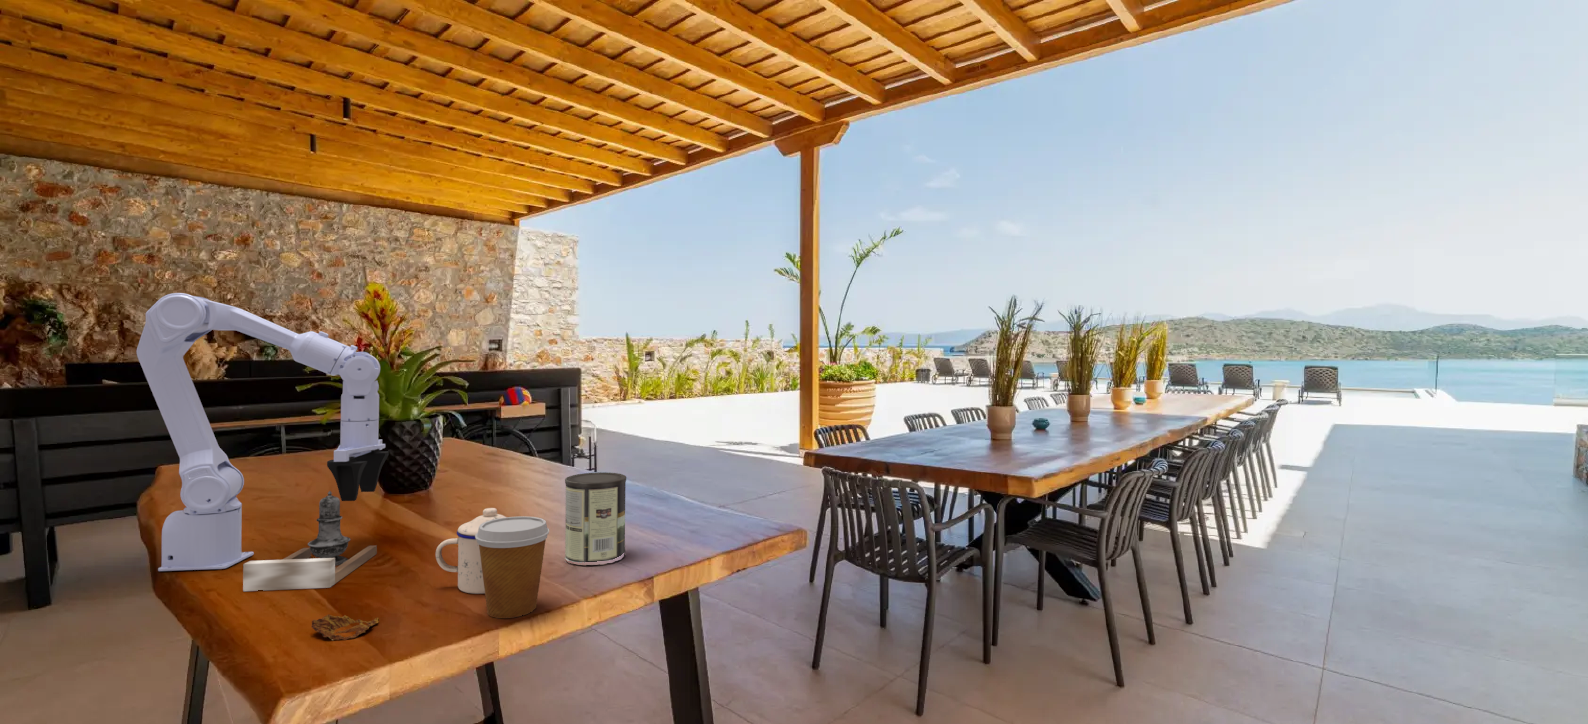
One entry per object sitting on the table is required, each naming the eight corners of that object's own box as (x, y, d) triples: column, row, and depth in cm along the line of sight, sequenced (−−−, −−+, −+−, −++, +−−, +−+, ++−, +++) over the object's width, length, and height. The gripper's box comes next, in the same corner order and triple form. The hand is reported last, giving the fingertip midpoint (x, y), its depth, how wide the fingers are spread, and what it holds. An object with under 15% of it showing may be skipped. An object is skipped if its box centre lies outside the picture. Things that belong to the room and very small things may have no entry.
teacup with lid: (524, 573, 109) (525, 501, 109) (516, 592, 100) (517, 514, 100) (443, 578, 106) (443, 504, 106) (427, 599, 97) (428, 518, 97)
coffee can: (597, 545, 125) (598, 470, 125) (637, 555, 120) (638, 476, 120) (551, 559, 117) (552, 478, 116) (591, 570, 111) (593, 485, 111)
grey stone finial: (358, 558, 115) (359, 488, 115) (331, 569, 110) (332, 495, 109) (326, 556, 116) (327, 486, 116) (298, 567, 110) (298, 493, 110)
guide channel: (243, 591, 99) (243, 564, 99) (303, 556, 116) (303, 533, 115) (329, 587, 101) (330, 561, 101) (376, 554, 118) (376, 531, 118)
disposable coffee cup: (555, 615, 92) (556, 527, 92) (479, 629, 87) (480, 536, 87) (540, 593, 100) (541, 512, 100) (469, 605, 95) (470, 520, 95)
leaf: (351, 646, 83) (354, 632, 83) (299, 637, 83) (302, 623, 83) (387, 630, 89) (389, 617, 89) (338, 622, 90) (340, 609, 90)
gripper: (366, 424, 114) (365, 504, 114) (400, 416, 128) (399, 487, 129) (320, 424, 113) (319, 505, 113) (359, 416, 127) (358, 488, 127)
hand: (358, 496), depth 121 cm, fingers open, 7 cm apart
